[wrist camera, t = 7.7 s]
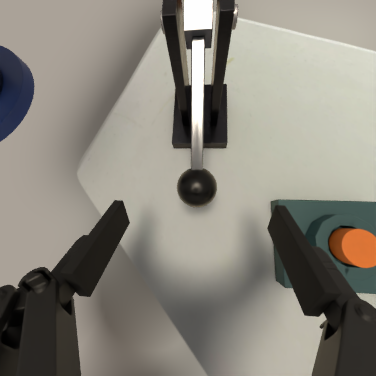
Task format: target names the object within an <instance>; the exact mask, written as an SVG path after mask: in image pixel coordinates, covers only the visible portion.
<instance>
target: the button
mask: <svg viewBox="0 0 376 376" xmlns="http://www.w3.org/2000/svg"><path fill="white" fill-rule="evenodd" d="M329 248H330V250H331V252H332V254H333V255H334V256H335V257H336V258H337V259H338V260H340V261H342V262H344V263H347V264H351V265H354V266H358V267H361V268H371V267H374V266H376V237H375V236H374V235H373V234H372V233H370V232H368V231H366V230H363V229H351V228H341V229H337V230H335V231H334V232H333V233H332V234H331V235H330V238H329Z"/></svg>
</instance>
